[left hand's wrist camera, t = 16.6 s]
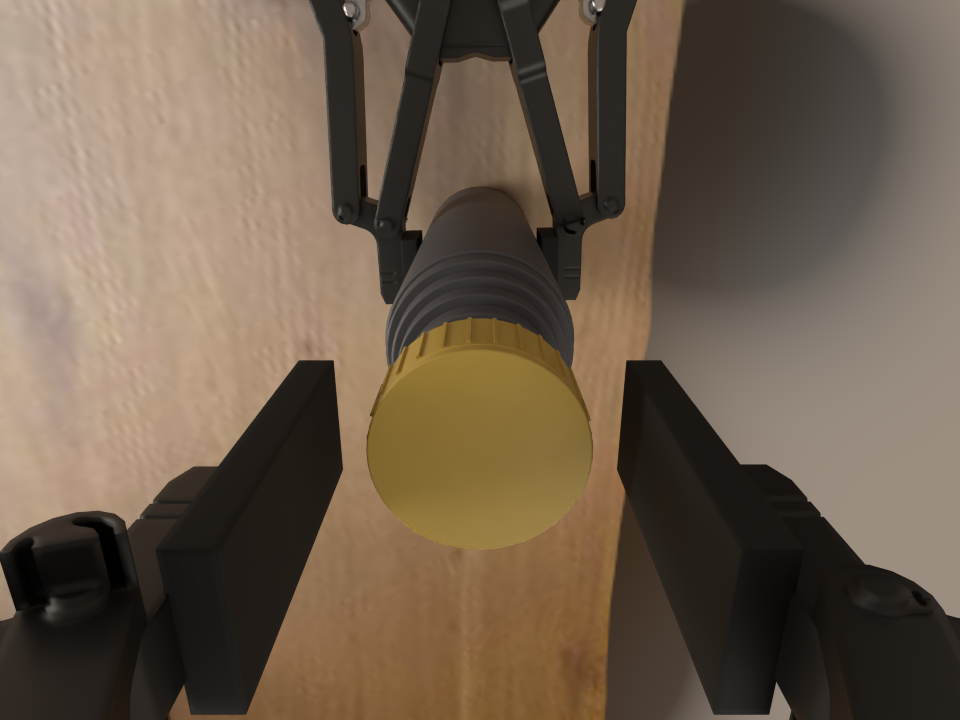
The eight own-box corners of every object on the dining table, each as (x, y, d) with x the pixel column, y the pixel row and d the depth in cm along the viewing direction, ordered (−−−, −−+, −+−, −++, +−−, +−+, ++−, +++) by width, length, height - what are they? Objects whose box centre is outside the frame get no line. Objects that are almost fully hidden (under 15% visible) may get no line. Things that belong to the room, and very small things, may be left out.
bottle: (481, 304, 38) (483, 601, 14) (410, 238, 36) (285, 448, 13) (549, 236, 36) (674, 441, 13) (478, 164, 35) (475, 250, 12)
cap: (617, 365, 14) (638, 404, 12) (526, 525, 15) (532, 581, 14) (426, 281, 13) (417, 307, 11) (349, 455, 15) (330, 505, 13)
